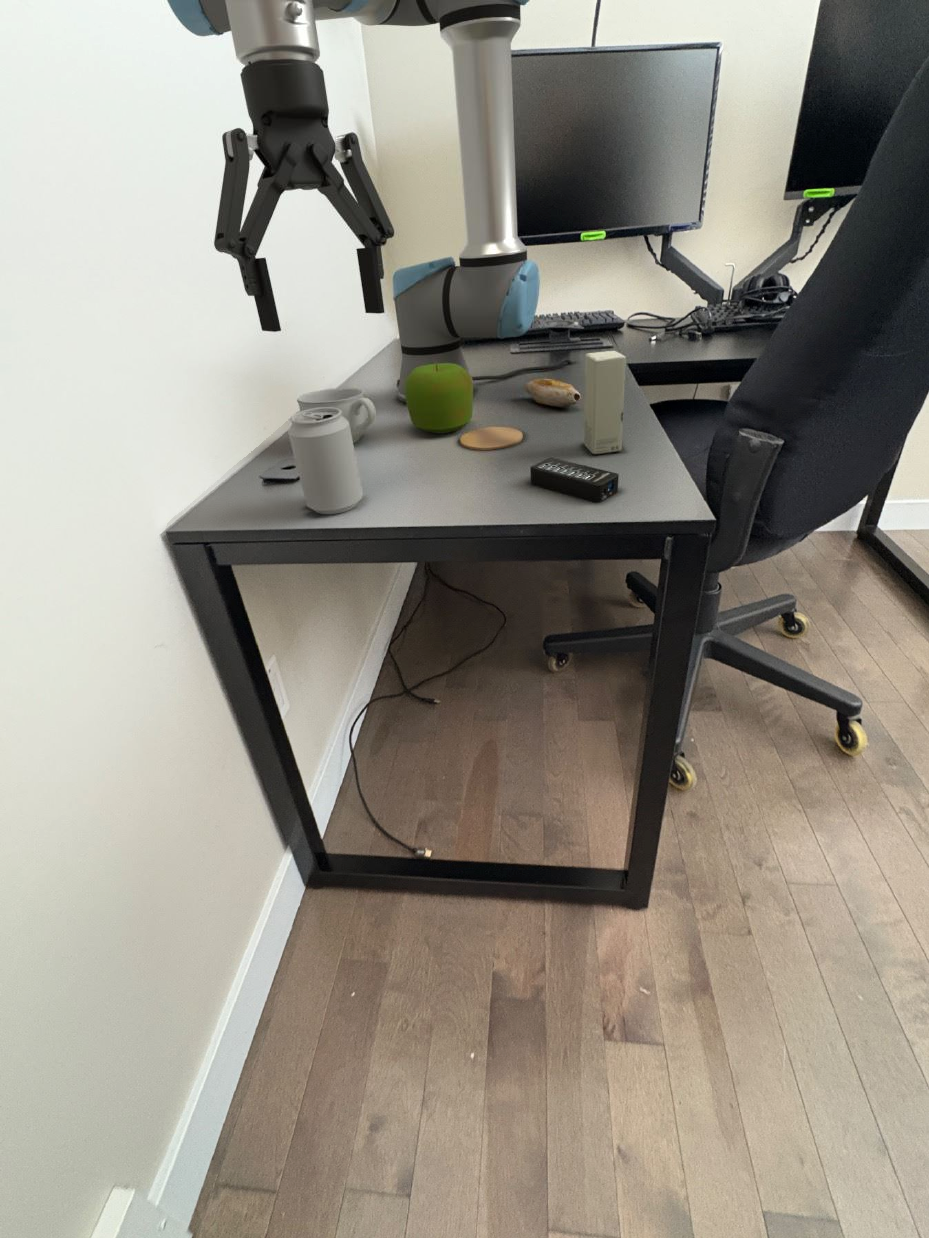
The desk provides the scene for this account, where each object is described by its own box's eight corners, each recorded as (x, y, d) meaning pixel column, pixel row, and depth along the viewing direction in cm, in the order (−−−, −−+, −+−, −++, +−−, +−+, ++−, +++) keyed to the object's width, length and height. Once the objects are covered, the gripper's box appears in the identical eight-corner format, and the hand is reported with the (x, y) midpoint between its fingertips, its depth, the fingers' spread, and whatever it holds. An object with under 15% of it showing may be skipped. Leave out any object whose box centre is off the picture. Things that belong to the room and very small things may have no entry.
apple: (397, 435, 102) (387, 367, 95) (436, 416, 109) (428, 352, 102) (450, 442, 96) (443, 371, 90) (487, 422, 103) (483, 355, 97)
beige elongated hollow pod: (540, 393, 115) (539, 369, 112) (587, 409, 104) (588, 383, 102) (517, 399, 113) (516, 375, 110) (563, 416, 102) (563, 389, 100)
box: (622, 452, 86) (628, 356, 79) (592, 456, 86) (595, 360, 78) (610, 440, 90) (615, 349, 83) (582, 444, 90) (584, 352, 83)
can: (352, 517, 76) (332, 422, 69) (298, 516, 77) (273, 423, 70) (371, 493, 82) (355, 403, 75) (321, 493, 83) (300, 404, 76)
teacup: (295, 446, 101) (283, 397, 97) (346, 427, 107) (337, 381, 103) (345, 461, 93) (335, 408, 88) (397, 440, 99) (390, 390, 95)
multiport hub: (550, 473, 82) (550, 456, 81) (619, 491, 75) (620, 473, 74) (529, 483, 80) (528, 467, 78) (598, 503, 73) (599, 485, 71)
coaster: (488, 425, 101) (488, 423, 101) (535, 435, 95) (535, 432, 95) (447, 443, 96) (447, 440, 96) (494, 454, 90) (494, 451, 90)
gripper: (160, 38, 46) (238, 341, 57) (410, 68, 60) (432, 307, 71) (126, 61, 50) (204, 337, 62) (365, 84, 64) (392, 306, 76)
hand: (326, 321), depth 66 cm, fingers open, 13 cm apart
